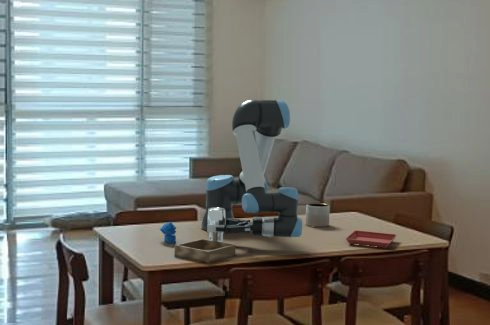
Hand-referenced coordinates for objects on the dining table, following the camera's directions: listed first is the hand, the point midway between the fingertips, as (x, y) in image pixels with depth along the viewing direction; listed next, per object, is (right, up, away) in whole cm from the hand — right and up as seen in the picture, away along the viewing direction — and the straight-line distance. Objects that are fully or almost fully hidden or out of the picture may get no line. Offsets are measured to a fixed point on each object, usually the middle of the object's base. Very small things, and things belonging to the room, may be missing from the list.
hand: (208, 225), depth 297 cm
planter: (+48, -5, +52) cm, 71 cm away
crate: (0, -10, -15) cm, 18 cm away
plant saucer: (+66, -9, +16) cm, 69 cm away
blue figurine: (-16, -8, +7) cm, 19 cm away
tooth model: (+3, -9, +1) cm, 9 cm away
